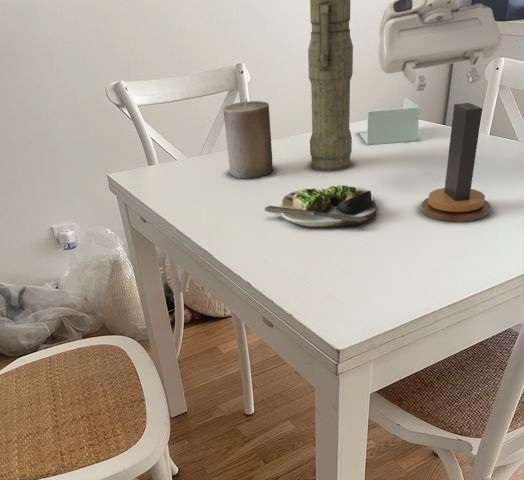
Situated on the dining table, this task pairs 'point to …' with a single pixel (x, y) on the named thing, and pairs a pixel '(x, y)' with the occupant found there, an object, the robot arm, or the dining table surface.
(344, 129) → the thermos
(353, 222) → the salad plate
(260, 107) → the pillar candle
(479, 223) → the dining table surface
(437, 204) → the slab on wooden base
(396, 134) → the right angle wall
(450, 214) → the swivel stand
